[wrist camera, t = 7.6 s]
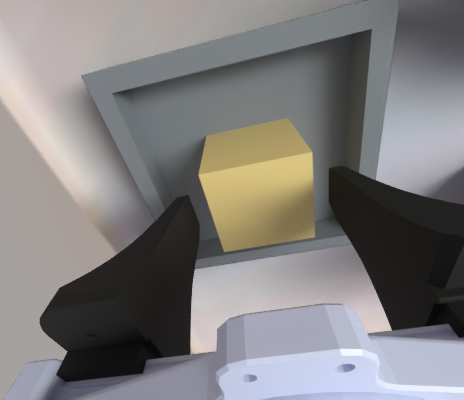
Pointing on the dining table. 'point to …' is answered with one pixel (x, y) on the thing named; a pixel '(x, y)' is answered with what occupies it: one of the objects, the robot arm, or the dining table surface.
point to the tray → (255, 110)
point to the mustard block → (259, 185)
